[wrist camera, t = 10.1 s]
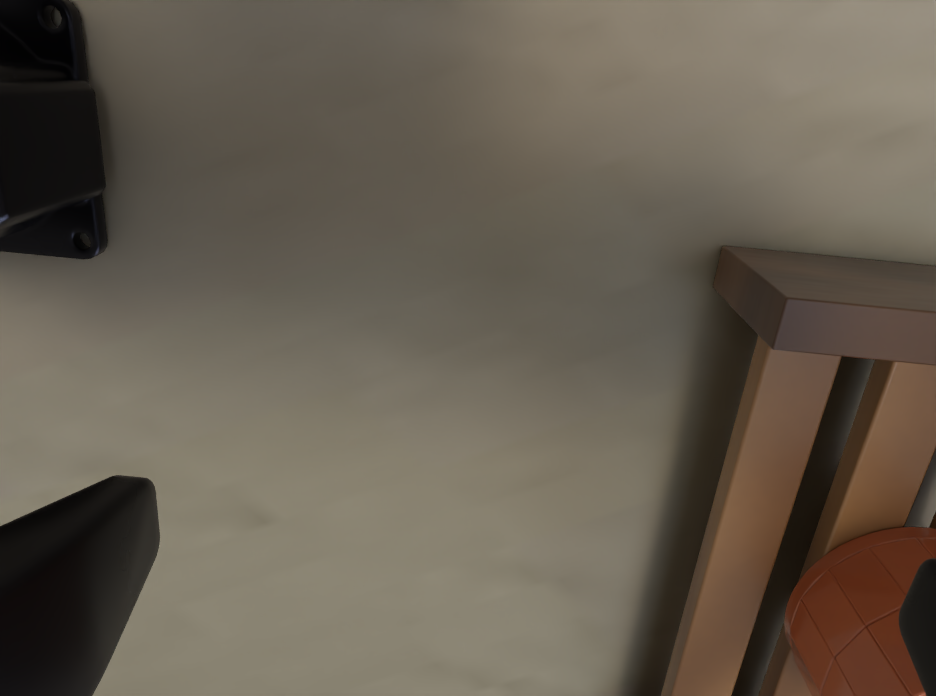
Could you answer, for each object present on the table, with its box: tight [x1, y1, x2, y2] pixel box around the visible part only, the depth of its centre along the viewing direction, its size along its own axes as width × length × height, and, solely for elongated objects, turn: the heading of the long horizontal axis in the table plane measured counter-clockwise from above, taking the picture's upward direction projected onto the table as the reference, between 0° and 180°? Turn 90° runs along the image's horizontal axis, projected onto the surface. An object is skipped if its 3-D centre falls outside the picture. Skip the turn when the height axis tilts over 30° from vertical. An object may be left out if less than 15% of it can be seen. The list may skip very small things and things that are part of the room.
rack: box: [661, 246, 936, 696], centre depth 20 cm, size 12×18×4 cm, turn 175°
